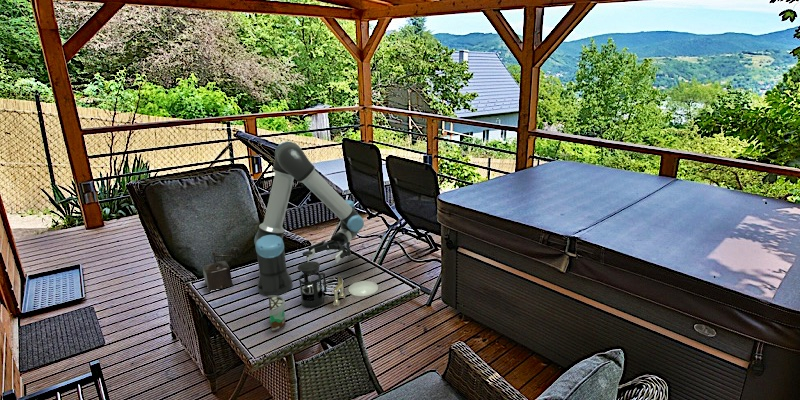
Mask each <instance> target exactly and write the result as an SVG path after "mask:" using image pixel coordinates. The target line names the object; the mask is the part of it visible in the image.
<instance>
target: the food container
mask: <svg viewBox="0 0 800 400" xmlns="http://www.w3.org/2000/svg"><path fill="white" fill-rule="evenodd" d="M267 297H268V306H269V307H268V308H269V309H268V314H269V321H270V328H271V332H272V333H274V332H278V331H280V330H281V329H283V328H284V327H285V325H286V319H285V318H286V317H285V309H286V306H287V304H286V301H285V300H284V298H283V297H282V296H280V295H271V296H267Z"/></svg>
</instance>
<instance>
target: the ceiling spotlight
mask: <svg viewBox="0 0 800 400" xmlns="http://www.w3.org/2000/svg"><path fill="white" fill-rule="evenodd" d="M344 288H345V287H344V285H343V279H342V276H341V275H340V276H338V277H337V285H336V286H335V287H334V288H333V296H334V300H333V303H332V304H333V305H334V307H335V305H337V306H340V304H341V300H339V298H346V293H344V290H345V289H344ZM339 289H340V292H337V291H338V290H339ZM343 289H344V290H343ZM338 293H339V294H338Z"/></svg>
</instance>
